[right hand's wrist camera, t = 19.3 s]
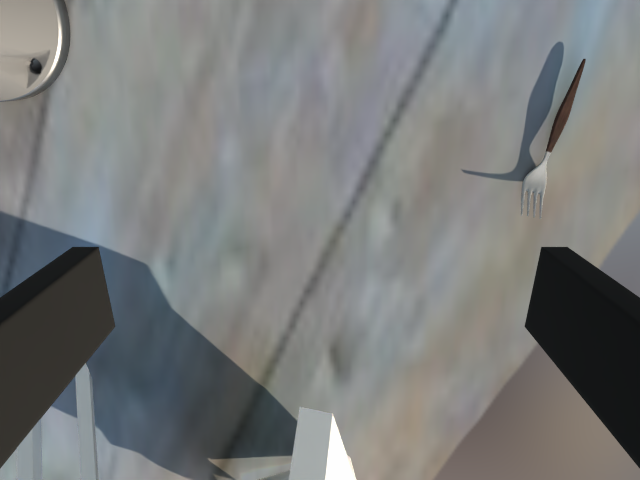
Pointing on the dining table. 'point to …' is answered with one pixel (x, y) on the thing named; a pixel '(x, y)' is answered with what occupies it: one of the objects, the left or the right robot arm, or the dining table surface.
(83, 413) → the white plastic object
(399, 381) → the dining table surface
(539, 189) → the fork
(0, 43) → the right robot arm
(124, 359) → the dining table surface
